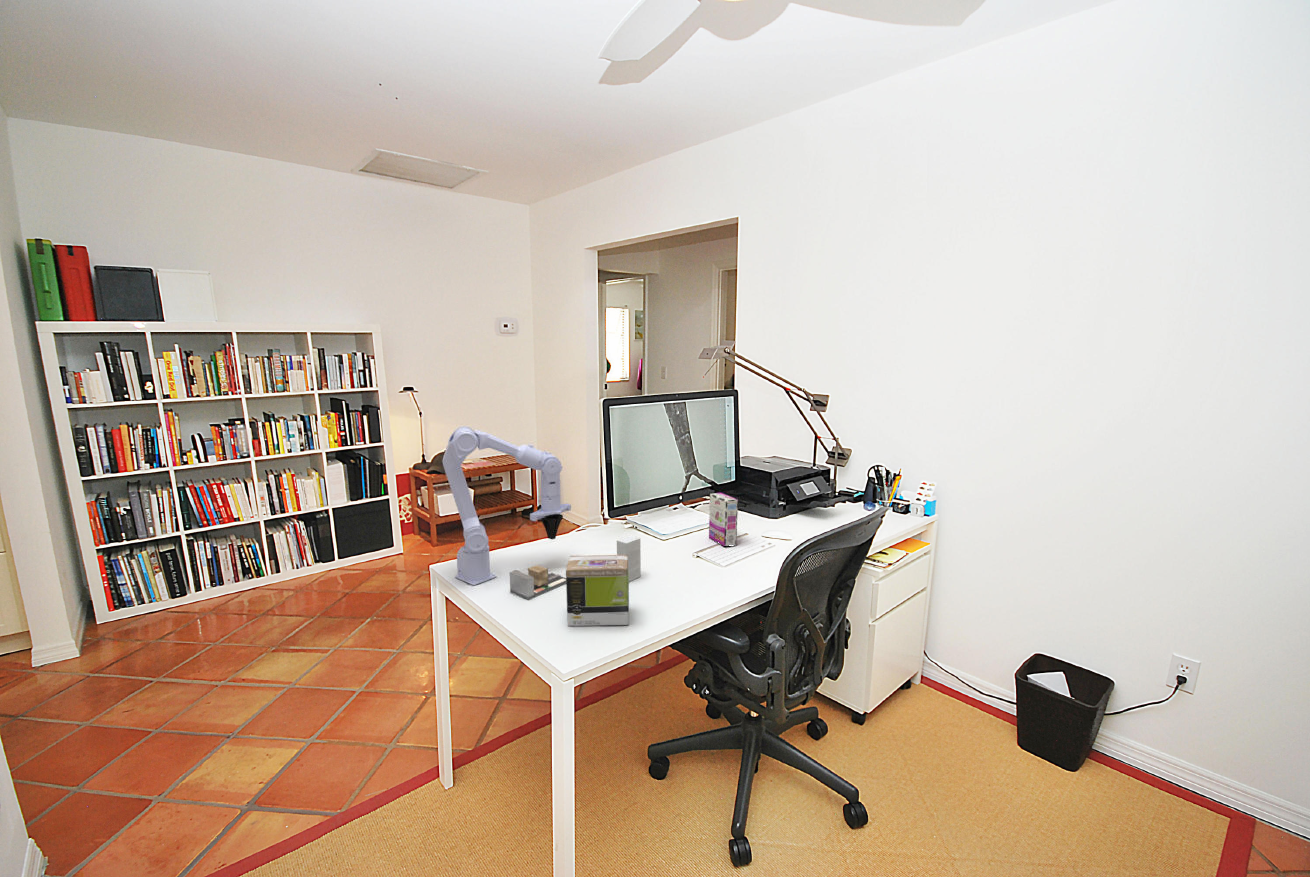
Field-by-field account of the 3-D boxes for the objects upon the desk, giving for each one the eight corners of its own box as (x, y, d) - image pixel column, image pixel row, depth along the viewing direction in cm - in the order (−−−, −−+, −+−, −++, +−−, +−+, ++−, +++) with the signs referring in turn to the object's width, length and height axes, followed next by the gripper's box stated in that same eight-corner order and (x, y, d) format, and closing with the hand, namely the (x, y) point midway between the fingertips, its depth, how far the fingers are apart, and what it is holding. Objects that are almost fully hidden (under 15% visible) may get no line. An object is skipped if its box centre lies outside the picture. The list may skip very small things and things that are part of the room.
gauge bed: (551, 575, 168) (551, 556, 167) (569, 582, 163) (569, 562, 162) (510, 592, 156) (509, 572, 155) (528, 600, 151) (527, 579, 150)
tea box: (629, 607, 148) (629, 553, 145) (628, 626, 138) (628, 568, 135) (571, 608, 147) (570, 553, 145) (566, 627, 137) (565, 569, 135)
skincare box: (630, 573, 170) (630, 534, 168) (641, 576, 167) (641, 537, 165) (616, 579, 165) (616, 539, 163) (627, 583, 163) (627, 543, 161)
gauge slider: (538, 579, 162) (538, 564, 161) (553, 585, 158) (552, 570, 157) (528, 583, 159) (528, 568, 158) (543, 589, 155) (542, 574, 154)
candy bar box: (737, 546, 193) (738, 499, 191) (724, 548, 191) (726, 501, 189) (720, 536, 203) (721, 491, 201) (708, 538, 201) (709, 493, 199)
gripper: (540, 502, 161) (542, 547, 164) (577, 492, 173) (578, 534, 175) (524, 497, 166) (526, 542, 168) (561, 488, 177) (562, 530, 179)
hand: (551, 538), depth 172 cm, fingers closed
